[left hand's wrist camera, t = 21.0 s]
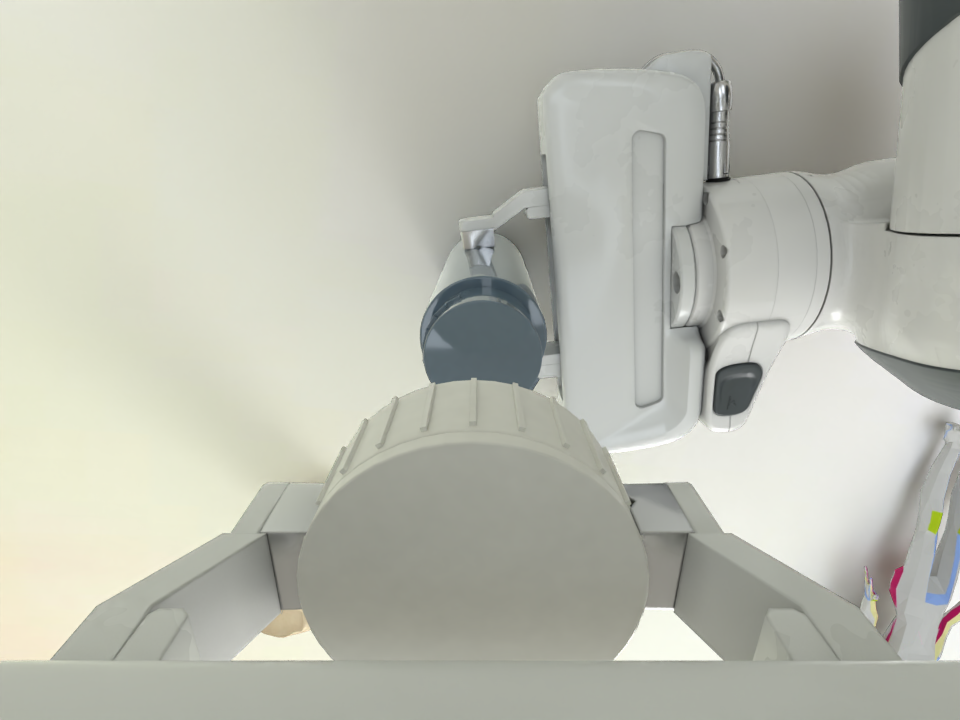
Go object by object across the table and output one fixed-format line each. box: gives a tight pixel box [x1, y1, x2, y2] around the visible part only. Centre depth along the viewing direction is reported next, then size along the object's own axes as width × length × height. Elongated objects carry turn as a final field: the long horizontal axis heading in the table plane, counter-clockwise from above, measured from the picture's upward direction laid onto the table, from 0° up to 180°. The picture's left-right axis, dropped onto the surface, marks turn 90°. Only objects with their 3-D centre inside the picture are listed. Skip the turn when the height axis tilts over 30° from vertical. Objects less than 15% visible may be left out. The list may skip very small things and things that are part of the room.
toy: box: [860, 422, 960, 661], centre depth 39 cm, size 10×8×30 cm
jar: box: [420, 233, 547, 391], centre depth 26 cm, size 5×5×16 cm
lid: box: [297, 378, 649, 661], centre depth 10 cm, size 6×6×2 cm
